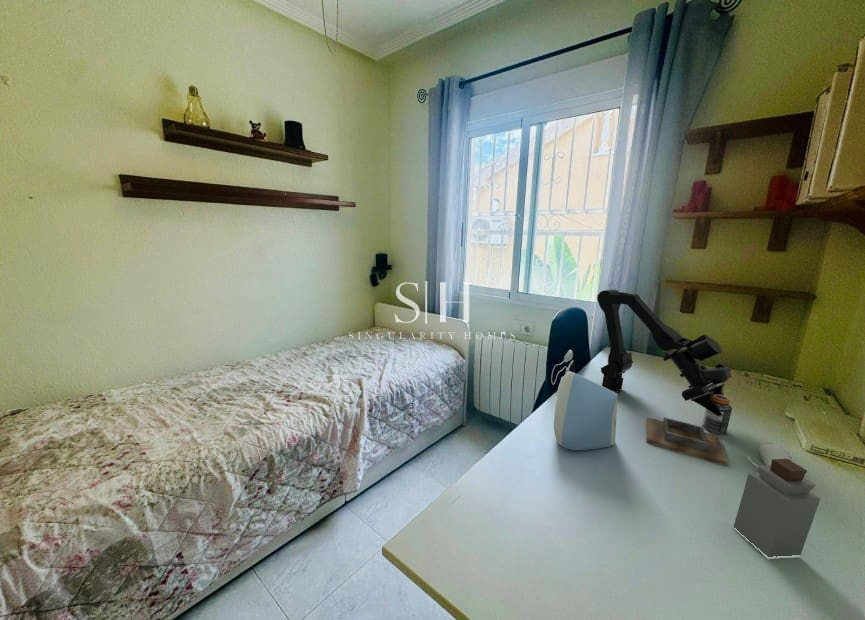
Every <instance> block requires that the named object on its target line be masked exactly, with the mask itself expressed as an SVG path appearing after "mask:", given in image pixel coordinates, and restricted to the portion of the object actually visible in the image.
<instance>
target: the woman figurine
mask: <svg viewBox="0 0 865 620" xmlns="http://www.w3.org/2000/svg"><path fill="white" fill-rule="evenodd" d="M758 450H759V454H760V458H761V459H762V461H763V463H764V466H765V465H771V463H772V459H789V460H790V461H792V456H791V454H790V452H789V451H787V450H786V449H785V448H784V447H783V446H782V445H781V446H779V445H776V444H772V442H769V443H767V444H766V443H764V444H763V445H761V446H760V447H759V448H758ZM743 456H744V458H745V460H747V461H748V462H750V463H751V464H752V465H754V466H755V467H756V468H757V469H758V466H759V464H757V463H755V462H754V461H753V460H752V459H751V457H750V456H746V455H743ZM804 478H805V479H807V480H808V477H804Z"/></svg>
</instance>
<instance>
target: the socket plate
mask: <svg viewBox="0 0 865 620" xmlns="http://www.w3.org/2000/svg"><path fill="white" fill-rule="evenodd" d="M645 422H646V443H647V444H650V445H653V446H658V447H660V448H663V449H668V450H671V451H673V452H674V451H675V452H678V453H681V454H685V455H688V456H691V457H694V458H699V459H702V460H704V461H705V460H706V461H709V462H710V463H711V462H712V463H714V464H715V463H716V464H719V465H722V466H725V467H727V466H728V460H727V457H726V454H725V451H724V449H723V446H722V443H721V442H722V441H720V437H719V434H717V435H716V434H715V433H711V432H705V428H703V426H701V425H697V424H691V423H688V422H683V421H680V420H677V419H676V420H675V419H673V418H668V417H663V420H659V419H656V418H653V417H648V416H646V421H645Z"/></svg>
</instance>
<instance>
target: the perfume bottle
mask: <svg viewBox="0 0 865 620" xmlns="http://www.w3.org/2000/svg"><path fill="white" fill-rule="evenodd" d="M757 469H758V472H750V473H748V475H747V478H746V481H745V485H744V488H743V492H742V495H741V499H740V502H739V506H738V510H737V513H736V516H735V521H734V523H733V527H734V528H736V529H737V530H738V531H739V532H740V533H741V534H742V535H744V536H745V537H746V538H747V539H748V540H749V541H750V542H751V543H753V544H754V545H755V546H756V547H757V548H759V549H760V550H761V551H762V552H763V553H764V554H766V555H767V556H768V557H773V556H776V557H777V556H792V555H802V553H803V550H804V548H805V547H804V546H805V544H806V541H807V538H808V535H809V532H810V530H811V526H812V524H813V521H814V519H815V515H816V513H817V509H818V507H819V504H820V501H821V498H820V497H819V496H817V495H816V494H814V493H813V492H812V490H813V489H814V488H815V487H816V486H817V485H816V484H815V483H814V482H812V481H810V480H808V478H807V479H805V478H806V477H805V476H806V474H807V471H808V470H807V469H805V468H804V467H802V466H801V465H799V464H797V463H795V462H794V461H792V460H789V459H772V463H771V465H765V464H764V465H758V468H757Z"/></svg>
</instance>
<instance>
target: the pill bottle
mask: <svg viewBox="0 0 865 620" xmlns="http://www.w3.org/2000/svg"><path fill="white" fill-rule="evenodd" d="M712 398H713V400H714V402H715V403H716V405H717V407H718V408H719V410H720V412H721V414H722V415H721V416H717V415H716V414H714V413H712V412H711V411H709V410H708V409H706V408H704V409H705V411H704V414H703V418H702V426H701V427H703V429H704V430H706V431H708V432H709V433H711V434H715V435H716V434H717V435H725V434H727V432H728V428H729V424H730V423H729V422H730V418H731V415H732V410H733V407H732V406H731V405H730V401H731V398H729V397H728V396H726V395H724V396H723V395H719V394H714V395H713V397H712Z"/></svg>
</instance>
